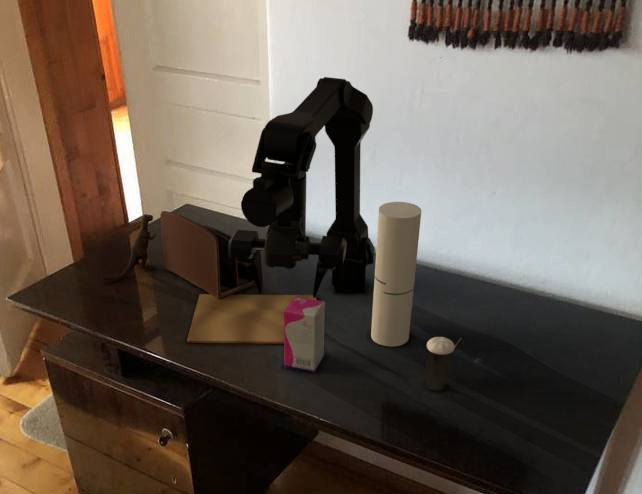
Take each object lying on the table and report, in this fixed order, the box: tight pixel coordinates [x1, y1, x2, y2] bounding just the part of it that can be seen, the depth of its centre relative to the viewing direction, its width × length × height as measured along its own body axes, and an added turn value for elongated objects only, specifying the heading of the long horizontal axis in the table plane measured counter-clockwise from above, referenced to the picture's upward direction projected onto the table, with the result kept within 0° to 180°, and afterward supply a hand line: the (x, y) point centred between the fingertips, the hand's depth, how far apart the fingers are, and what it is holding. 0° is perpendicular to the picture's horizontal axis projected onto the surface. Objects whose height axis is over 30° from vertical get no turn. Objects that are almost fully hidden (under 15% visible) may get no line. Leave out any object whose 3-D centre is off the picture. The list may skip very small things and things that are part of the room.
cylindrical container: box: [370, 201, 422, 348], centre depth 131 cm, size 7×7×25 cm
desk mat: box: [186, 293, 317, 345], centre depth 144 cm, size 24×18×1 cm
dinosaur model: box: [101, 213, 157, 282], centre depth 156 cm, size 4×12×15 cm
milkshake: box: [425, 336, 462, 392], centre depth 123 cm, size 4×5×10 cm
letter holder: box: [160, 210, 256, 299], centre depth 153 cm, size 10×20×14 cm, turn 43°
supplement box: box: [283, 297, 326, 374], centre depth 128 cm, size 6×6×12 cm
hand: (287, 294), depth 124 cm, fingers open, 9 cm apart
